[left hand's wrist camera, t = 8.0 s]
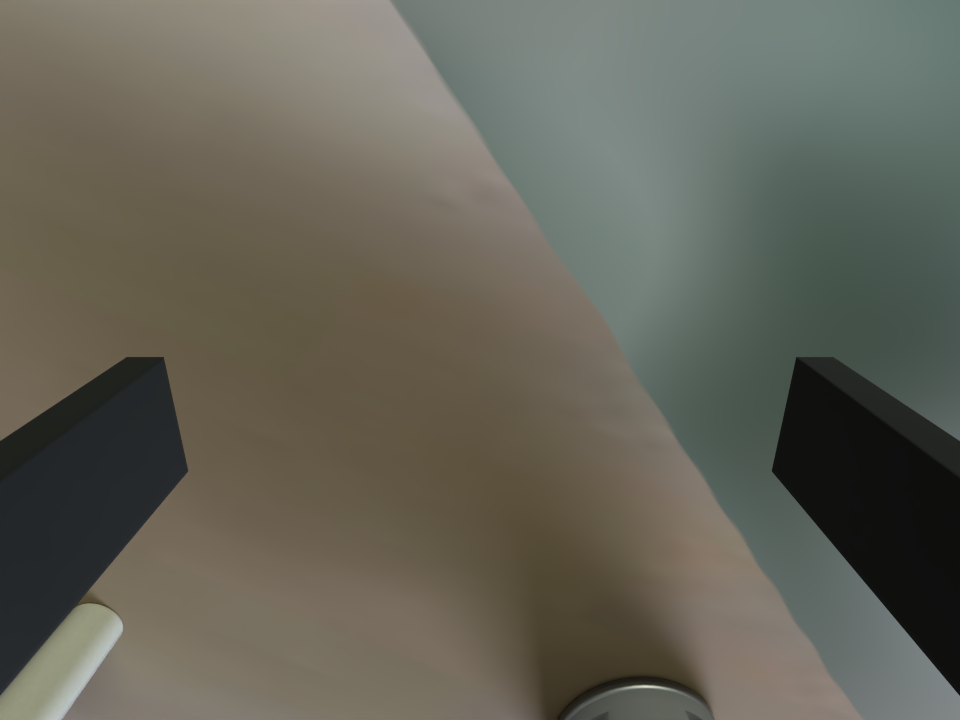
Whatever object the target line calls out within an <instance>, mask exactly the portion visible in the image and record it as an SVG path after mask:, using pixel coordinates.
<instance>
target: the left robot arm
mask: <svg viewBox="0 0 960 720" xmlns="http://www.w3.org/2000/svg"><path fill="white" fill-rule="evenodd" d="M187 472H188V468H187V463H186V459H185V454H184V449H183V445H182V440H181V436H180V431H179V426H178V422H177V417H176V412H175V408H174V403H173V398H172V394H171V389H170V384H169V380H168V375H167V371H166V366H165V361H164V357H126V358H125V359H123V360H122V361H120V362H119V363H117V364H116V365H114V366H113V367H111V368H110V369H108V370H107V371H105V372H104V373H102V374H101V375H99V376H98V377H96V378H95V379H93V380H92V381H90V382H89V383H87V384H86V385H84V386H83V387H81V388H80V389H78V390H77V391H75V392H74V393H72V394H71V395H69V396H68V397H66V398H65V399H63V400H62V401H60V402H59V403H57V404H55V405H54V406H52V407H51V408H49V409H48V410H46V411H45V412H43V413H42V414H40V415H39V416H37V417H36V418H34V419H33V420H31V421H30V422H28V423H27V424H25V425H24V426H22V427H21V428H19V429H18V430H16V431H15V432H13V433H12V434H10V435H9V436H7V437H6V438H4V439H3V440H1V441H0V695H1V694H2V693H3V692H4V691H5V689H6V688H7V687H8V686H9V685H10V683H11V682H12V681H13V680H14V679H15V677H16V676H17V675H18V674H19V673H20V671H21V670H22V669H23V668H24V667H25V665H26V664H27V663H28V662H29V661H30V659H31V658H32V657H33V656H34V655H35V654H36V652H37V651H38V650H39V649H40V648H41V646H42V645H43V644H44V643H45V642H46V640H47V639H48V638H49V637H50V636H51V634H52V633H53V632H54V631H55V630H56V628H57V627H58V626H59V625H60V624H61V622H62V621H63V620H64V619H65V618H66V616H67V615H68V614H69V613H70V612H71V611H72V609H73V608H74V607H75V606H76V605H77V603H78V602H79V601H80V600H81V599H82V597H83V596H84V595H85V594H86V593H87V591H88V590H89V589H90V588H91V587H92V585H93V584H94V583H95V582H96V581H97V579H98V578H99V577H100V576H101V575H102V573H103V572H104V571H105V570H106V569H107V568H108V566H109V565H110V564H111V563H112V562H113V560H114V559H115V558H116V557H117V556H118V554H119V553H120V552H121V551H122V550H123V548H124V547H125V546H126V545H127V544H128V542H129V541H130V540H131V539H132V538H133V536H134V535H135V534H136V533H137V532H138V530H139V529H140V528H141V527H142V526H143V525H144V523H145V522H146V521H147V520H148V519H149V517H150V516H151V515H152V514H153V513H154V511H155V510H156V509H157V508H158V507H159V505H160V504H161V503H162V502H163V501H164V499H165V498H166V497H167V496H168V495H169V493H170V492H171V491H172V490H173V489H174V488H175V486H176V485H177V484H178V483H179V482H180V480H181V479H182V478H183V477H184V476H185V474H186V473H187ZM772 472H773V473H774V474H775V476H776V477H777V478H778V479H779V480H780V481H781V483H782V484H783V485H784V486H785V487H786V489H787V490H788V491H789V492H790V493H791V495H792V496H793V497H794V498H795V499H796V501H797V502H798V503H799V504H800V505H801V507H802V508H803V509H804V510H805V511H806V513H807V514H808V515H809V516H810V517H811V519H812V520H813V521H814V522H815V523H816V525H817V526H818V527H819V528H820V529H821V530H822V532H823V533H824V534H825V535H826V536H827V538H828V539H829V540H830V541H831V542H832V544H833V545H834V546H835V547H836V548H837V550H838V551H839V552H840V553H841V554H842V556H843V557H844V558H845V559H846V560H847V562H848V563H849V564H850V565H851V566H852V568H853V569H854V570H855V571H856V572H857V573H858V575H859V576H860V577H861V578H862V579H863V581H864V582H865V583H866V584H867V585H868V587H869V588H870V589H871V590H872V591H873V593H874V594H875V595H876V596H877V597H878V599H879V600H880V601H881V602H882V603H883V605H884V606H885V607H886V608H887V609H888V610H889V612H890V613H891V614H892V615H893V616H894V618H895V619H896V620H897V621H898V622H899V624H900V625H901V626H902V627H903V628H904V629H905V631H906V632H907V633H908V634H909V636H910V637H911V638H912V639H913V640H914V641H915V643H916V644H917V645H918V646H919V648H920V649H921V650H922V651H923V652H924V653H925V655H926V656H927V657H928V658H929V659H930V661H931V662H932V663H933V664H934V665H935V667H936V668H937V669H938V670H939V671H940V673H941V674H942V675H943V676H944V677H945V679H946V680H947V681H948V682H949V683H950V685H951V686H952V687H953V688H954V689H955V691H956V692H957V693H958V694H959V695H960V441H959V440H957V439H956V438H954V437H953V436H951V435H950V434H948V433H947V432H945V431H944V430H942V429H941V428H939V427H938V426H936V425H935V424H933V423H932V422H930V421H929V420H927V419H926V418H924V417H923V416H921V415H920V414H918V413H917V412H915V411H914V410H912V409H911V408H909V407H908V406H906V405H904V404H903V403H901V402H900V401H898V400H897V399H895V398H894V397H892V396H891V395H889V394H888V393H886V392H885V391H883V390H882V389H880V388H879V387H877V386H876V385H874V384H873V383H871V382H870V381H868V380H867V379H865V378H864V377H862V376H861V375H859V374H858V373H856V372H855V371H853V370H852V369H850V368H849V367H847V366H846V365H844V364H843V363H841V362H840V361H838V360H837V359H835V358H834V357H796V361H795V366H794V371H793V375H792V380H791V384H790V389H789V394H788V398H787V403H786V408H785V412H784V417H783V422H782V426H781V431H780V436H779V440H778V445H777V449H776V454H775V459H774V463H773V468H772ZM559 720H715V719H714V717H713V714H712V712H711V710H710V708H709V706H708V705H707V703H706V702H705V701H704V700H703V699H702V698H701V697H700V696H699V695H698V694H696V693H695V692H694V691H692V690H690V689H689V688H687V687H685V686H683V685H680V684H678V683H675V682H672V681H668V680H664V679H658V678H647V677H638V678H626V679H620V680H615V681H612V682H608V683H605V684H602V685H599V686H597V687H595V688H593V689H591V690H589V691H587V692H585V693H584V694H582V695H580V696H579V697H578V698H576V699H575V700H574V701H573V702H572V703H571V704H570V705H569V706H568V707H567V708H566V709H565V710H564V712H563V713H562V714H561V716H560V718H559Z"/></svg>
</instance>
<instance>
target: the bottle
mask: <svg viewBox="0 0 960 720" xmlns="http://www.w3.org/2000/svg"><path fill="white" fill-rule="evenodd" d="M122 632H123V624H122V621H121V619H120V618H119V616H118V615H117V614H116V613H115V612H113V611H112V610H111V609H109V608H107V607H105V606H102V605H99V604H93V603H87V604H81V605H79V606H77V607H75V608H74V609H73V610H72V611H71V612H70V613H69V614H68V615H67V617H66V618H65V619H64V620H63V621H62V623H61V624H60V625H59V626H58V627H57V629H56V630H55V631H54V632H53V633H52V634H51V636H50V637H49V638H48V639H47V640H46V642H45V643H44V644H43V645H42V646H41V648H40V649H39V650H38V651H37V652H36V654H35V655H34V656H33V657H32V658H31V660H30V661H29V662H28V663H27V664H26V666H25V667H24V668H23V669H22V670H21V672H20V673H19V674H18V675H17V676H16V678H15V679H14V680H13V681H12V682H11V684H10V685H9V686H8V687H7V688H6V690H5V691H4V692H3V693H2V694H1V696H0V720H62V719H63V718H64V716H65V715H66V713H67V712H68V711H69V709H70V708H71V706H72V705H73V703H74V702H75V701H76V699H77V698H78V696H79V695H80V693H81V692H82V691H83V689H84V688H85V686H86V685H87V683H88V682H89V681H90V679H91V678H92V676H93V675H94V673H95V672H96V670H97V669H98V668H99V666H100V665H101V663H102V662H103V660H104V659H105V658H106V656H107V655H108V653H109V652H110V650H111V649H112V648H113V646H114V645H115V643H116V642H117V640H118V639H119V638H120V636H121V634H122Z"/></svg>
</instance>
